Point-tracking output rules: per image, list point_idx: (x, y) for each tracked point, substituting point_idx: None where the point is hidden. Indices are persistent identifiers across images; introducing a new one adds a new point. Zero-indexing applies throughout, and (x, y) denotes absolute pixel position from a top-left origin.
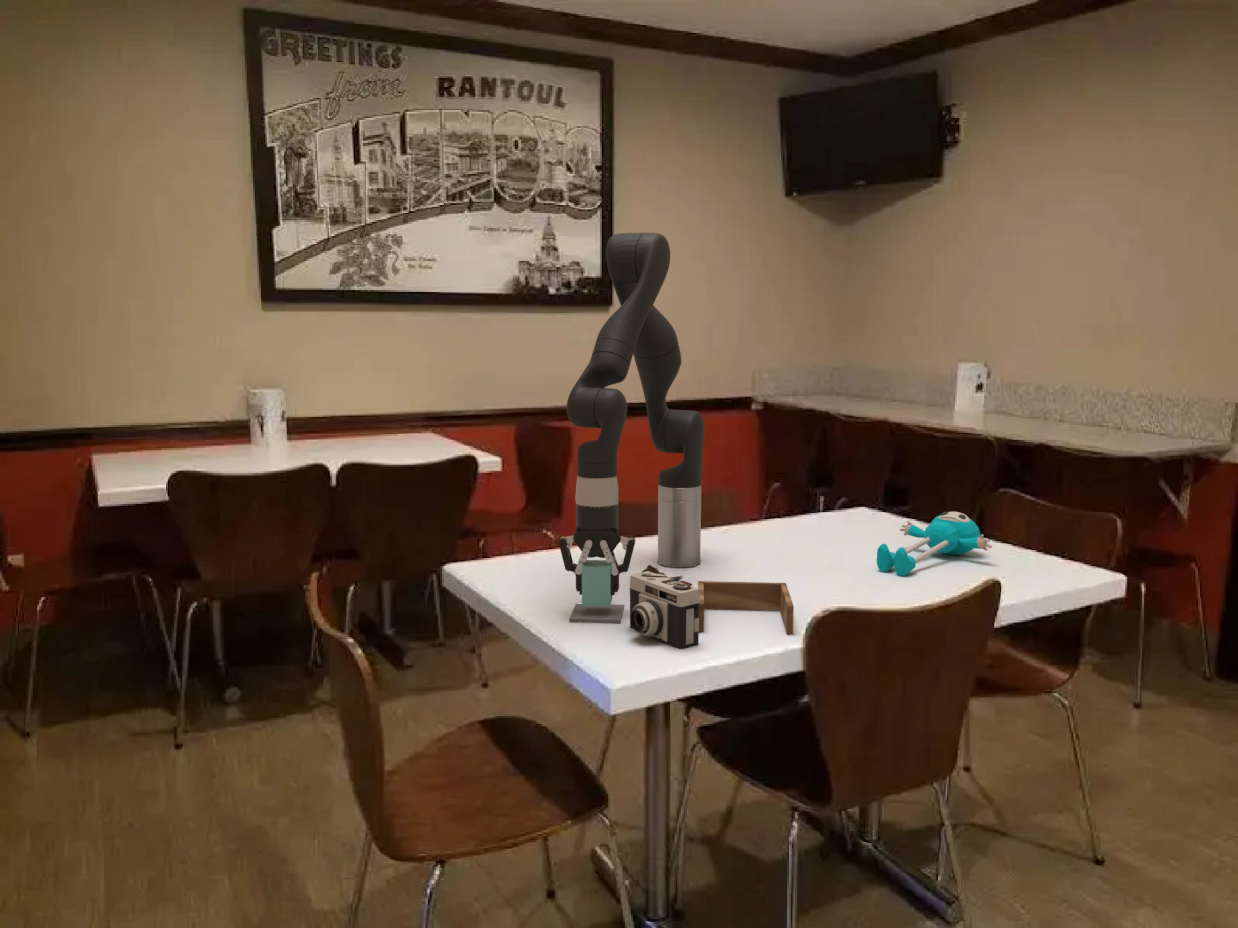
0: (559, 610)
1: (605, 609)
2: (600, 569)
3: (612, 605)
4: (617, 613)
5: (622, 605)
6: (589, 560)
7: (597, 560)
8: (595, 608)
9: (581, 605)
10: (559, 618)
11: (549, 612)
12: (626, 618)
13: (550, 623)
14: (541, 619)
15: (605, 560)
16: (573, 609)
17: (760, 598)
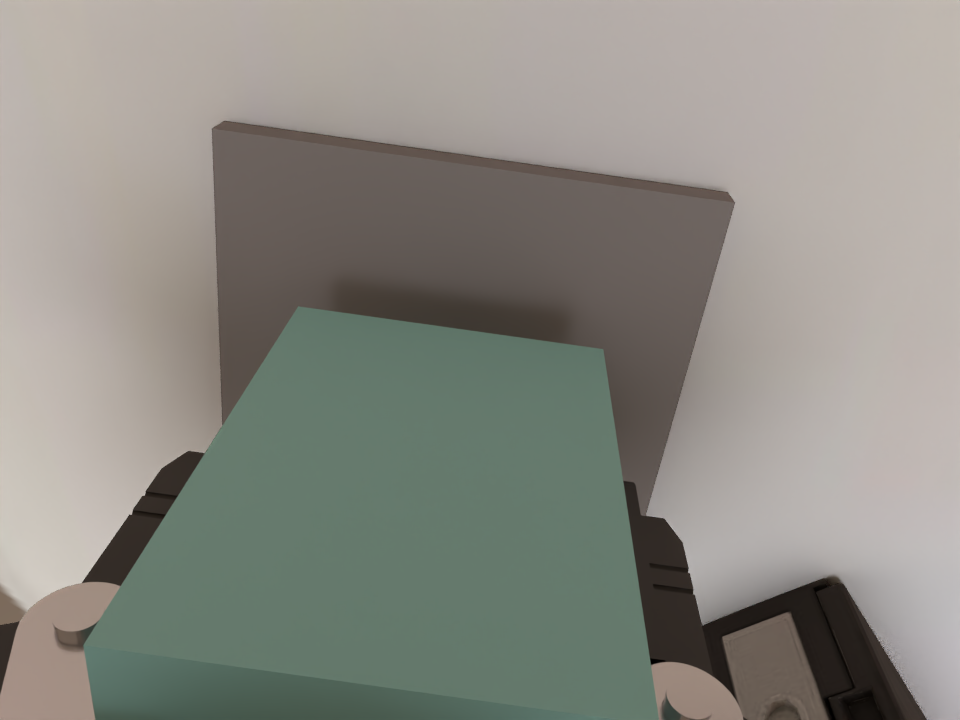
0: (89, 222)
1: (524, 334)
2: None
3: (606, 215)
4: (623, 450)
5: (712, 222)
6: (184, 684)
7: (347, 698)
8: (428, 303)
9: (282, 199)
10: (141, 428)
11: (14, 274)
12: (690, 469)
13: (101, 523)
14: (7, 439)
15: (513, 713)
16: (221, 318)
17: None
